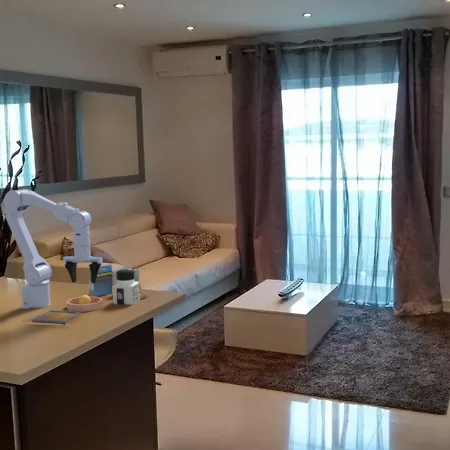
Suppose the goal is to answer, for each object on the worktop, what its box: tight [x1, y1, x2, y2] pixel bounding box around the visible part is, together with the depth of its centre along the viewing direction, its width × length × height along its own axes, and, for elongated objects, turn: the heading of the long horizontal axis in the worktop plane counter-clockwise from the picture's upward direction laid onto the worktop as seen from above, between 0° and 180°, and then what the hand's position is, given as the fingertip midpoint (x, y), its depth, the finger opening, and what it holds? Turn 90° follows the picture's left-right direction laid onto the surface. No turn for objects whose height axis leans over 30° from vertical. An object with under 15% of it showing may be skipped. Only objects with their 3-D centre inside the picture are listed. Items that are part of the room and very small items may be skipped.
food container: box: [114, 266, 142, 284], centre depth 243 cm, size 12×6×10 cm, turn 148°
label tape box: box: [88, 264, 113, 297], centre depth 241 cm, size 9×4×12 cm, turn 136°
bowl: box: [66, 295, 104, 313], centre depth 221 cm, size 13×13×3 cm
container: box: [112, 268, 141, 305], centre depth 228 cm, size 8×8×13 cm
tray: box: [31, 309, 82, 325], centre depth 210 cm, size 12×12×1 cm
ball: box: [79, 294, 91, 305], centre depth 221 cm, size 4×4×4 cm
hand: (83, 282), depth 220 cm, fingers open, 7 cm apart
